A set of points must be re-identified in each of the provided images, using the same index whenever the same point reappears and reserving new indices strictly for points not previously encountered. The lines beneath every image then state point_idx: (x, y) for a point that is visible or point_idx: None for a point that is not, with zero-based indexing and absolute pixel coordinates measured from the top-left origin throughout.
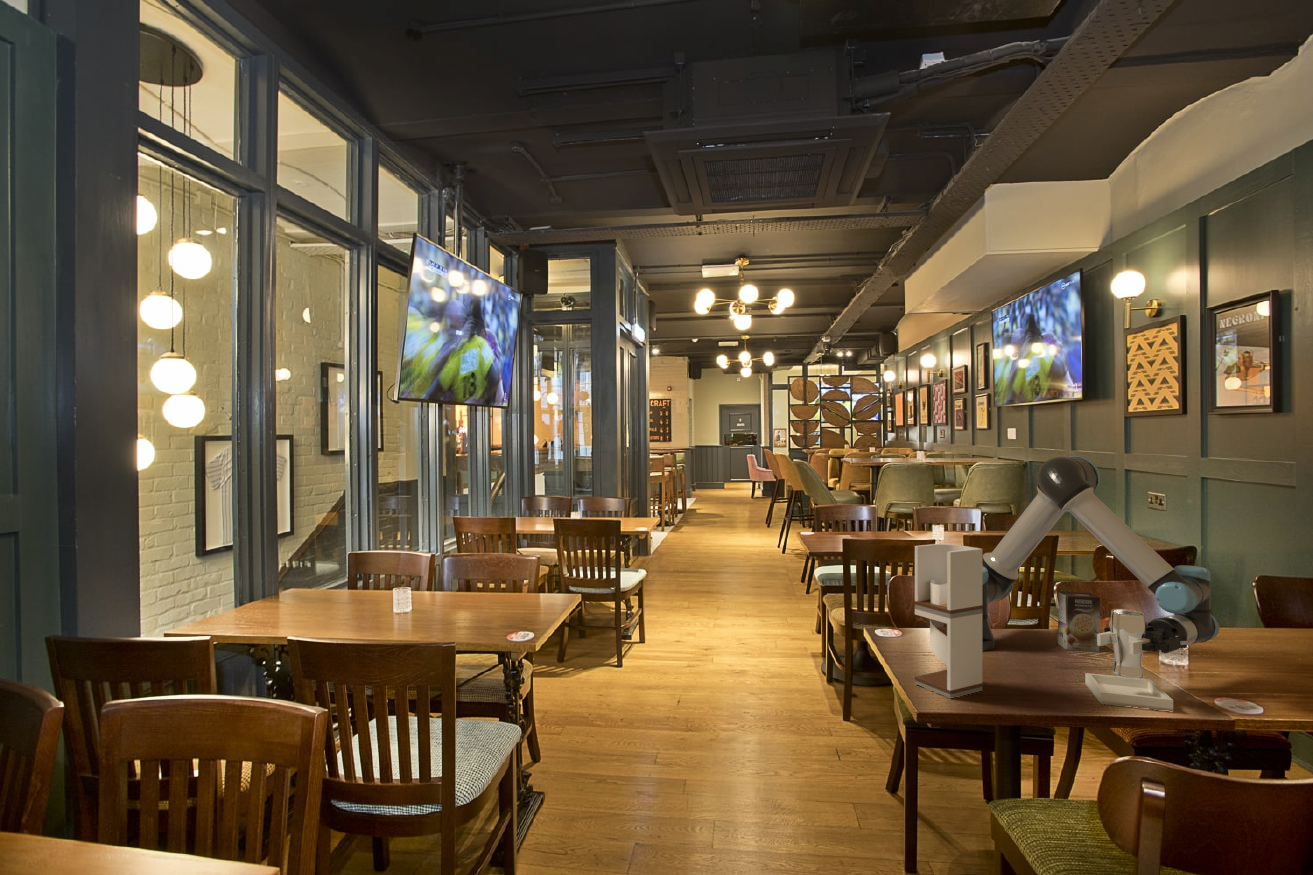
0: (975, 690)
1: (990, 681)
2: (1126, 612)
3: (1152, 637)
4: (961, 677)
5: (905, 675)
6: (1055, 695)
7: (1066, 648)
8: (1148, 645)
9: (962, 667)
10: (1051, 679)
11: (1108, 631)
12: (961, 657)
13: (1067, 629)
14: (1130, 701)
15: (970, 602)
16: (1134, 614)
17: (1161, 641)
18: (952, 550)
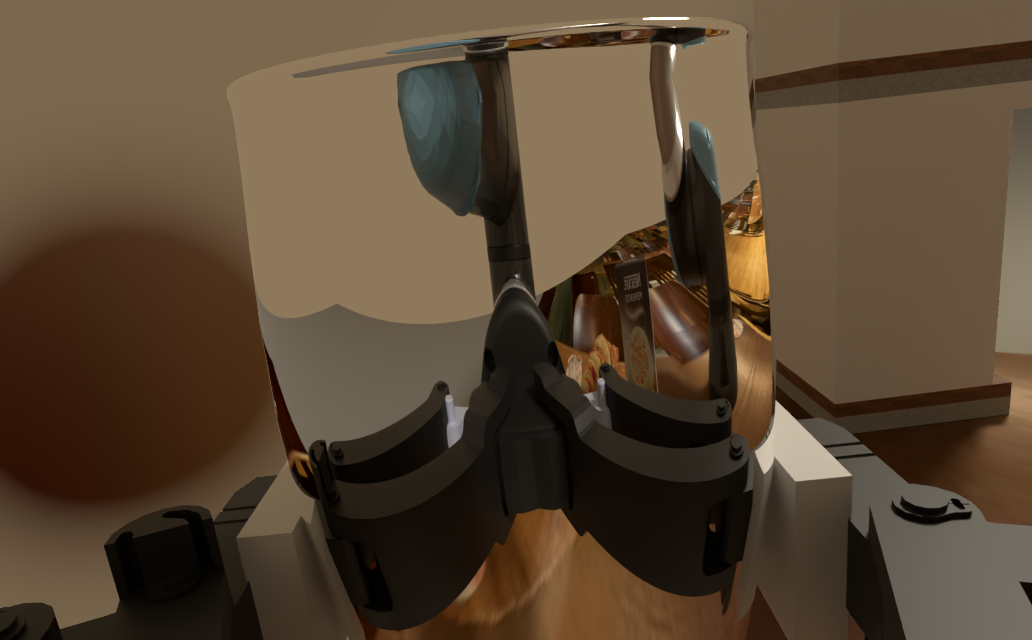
0: (814, 410)
1: (986, 495)
2: (664, 102)
3: (183, 508)
4: (782, 329)
5: (1006, 359)
6: (760, 604)
7: None
8: (238, 500)
9: (782, 296)
10: None
11: (1000, 533)
12: (780, 260)
13: None
14: None
15: (801, 49)
16: (517, 141)
17: (43, 627)
18: None
